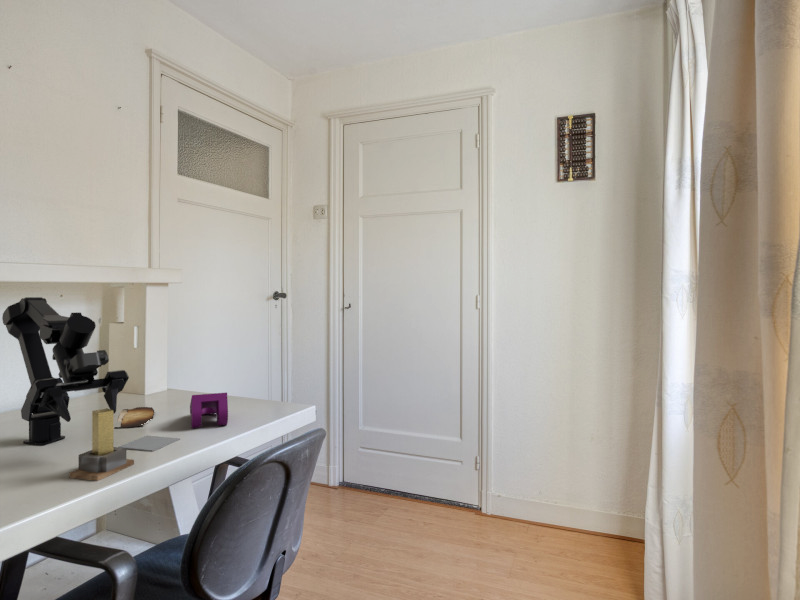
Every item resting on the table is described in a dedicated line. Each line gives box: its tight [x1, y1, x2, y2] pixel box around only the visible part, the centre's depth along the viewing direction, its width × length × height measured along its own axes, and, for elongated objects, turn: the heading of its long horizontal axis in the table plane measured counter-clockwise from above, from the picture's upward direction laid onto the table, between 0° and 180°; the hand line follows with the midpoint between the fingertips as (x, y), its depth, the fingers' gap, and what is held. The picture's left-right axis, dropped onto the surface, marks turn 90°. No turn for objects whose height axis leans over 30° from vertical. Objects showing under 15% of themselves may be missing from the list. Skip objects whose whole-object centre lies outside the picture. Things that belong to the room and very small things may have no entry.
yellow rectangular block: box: [91, 407, 114, 456], centre depth 107 cm, size 3×3×13 cm
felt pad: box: [118, 435, 181, 452], centre depth 126 cm, size 10×10×1 cm
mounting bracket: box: [189, 392, 229, 429], centre depth 148 cm, size 9×8×18 cm
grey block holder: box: [68, 446, 135, 482], centre depth 108 cm, size 7×10×4 cm
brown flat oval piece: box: [113, 406, 155, 429], centre depth 152 cm, size 25×10×1 cm, turn 24°
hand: (92, 416), depth 110 cm, fingers open, 9 cm apart
